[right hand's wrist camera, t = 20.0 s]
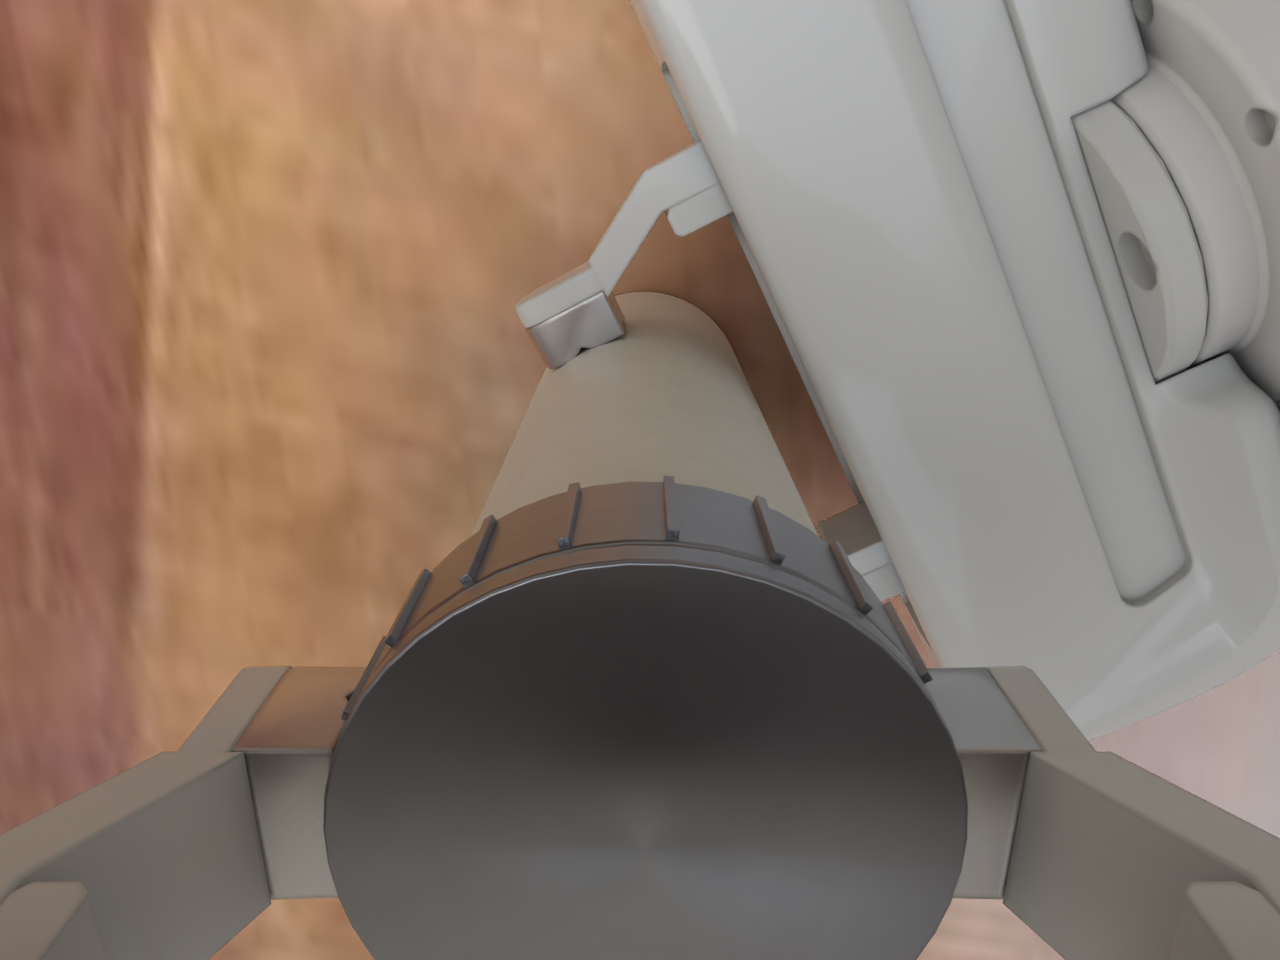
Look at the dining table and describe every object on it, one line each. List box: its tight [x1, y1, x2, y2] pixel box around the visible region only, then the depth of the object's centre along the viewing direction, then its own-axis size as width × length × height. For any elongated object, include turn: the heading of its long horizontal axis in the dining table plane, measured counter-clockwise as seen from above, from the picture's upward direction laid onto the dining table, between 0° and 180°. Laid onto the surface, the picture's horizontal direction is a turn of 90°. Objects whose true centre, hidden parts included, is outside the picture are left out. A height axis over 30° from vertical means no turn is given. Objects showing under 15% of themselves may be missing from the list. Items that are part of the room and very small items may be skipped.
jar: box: [470, 292, 818, 537], centre depth 17 cm, size 5×5×16 cm
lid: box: [323, 476, 968, 960], centre depth 9 cm, size 6×6×2 cm
